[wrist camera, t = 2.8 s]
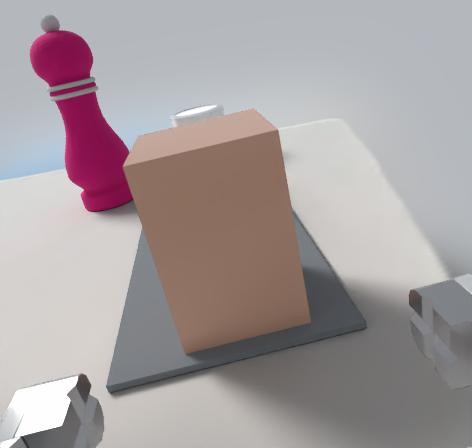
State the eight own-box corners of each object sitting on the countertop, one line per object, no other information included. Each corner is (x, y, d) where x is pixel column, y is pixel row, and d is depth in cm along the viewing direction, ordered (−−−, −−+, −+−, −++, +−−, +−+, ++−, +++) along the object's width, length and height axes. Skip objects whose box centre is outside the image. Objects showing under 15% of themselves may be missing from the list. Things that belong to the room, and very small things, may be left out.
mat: (366, 328, 21) (365, 321, 21) (108, 392, 21) (106, 386, 20) (272, 184, 43) (271, 180, 43) (147, 214, 43) (146, 211, 42)
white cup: (206, 174, 51) (191, 116, 49) (173, 170, 56) (158, 118, 53) (245, 155, 55) (233, 101, 53) (211, 153, 60) (199, 104, 57)
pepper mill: (144, 184, 53) (89, 9, 45) (140, 203, 46) (74, 2, 39) (88, 197, 53) (22, 24, 45) (75, 219, 46) (-5, 20, 38)
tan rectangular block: (184, 354, 21) (122, 166, 17) (184, 286, 27) (138, 136, 23) (311, 322, 22) (278, 129, 18) (283, 262, 28) (253, 108, 24)
